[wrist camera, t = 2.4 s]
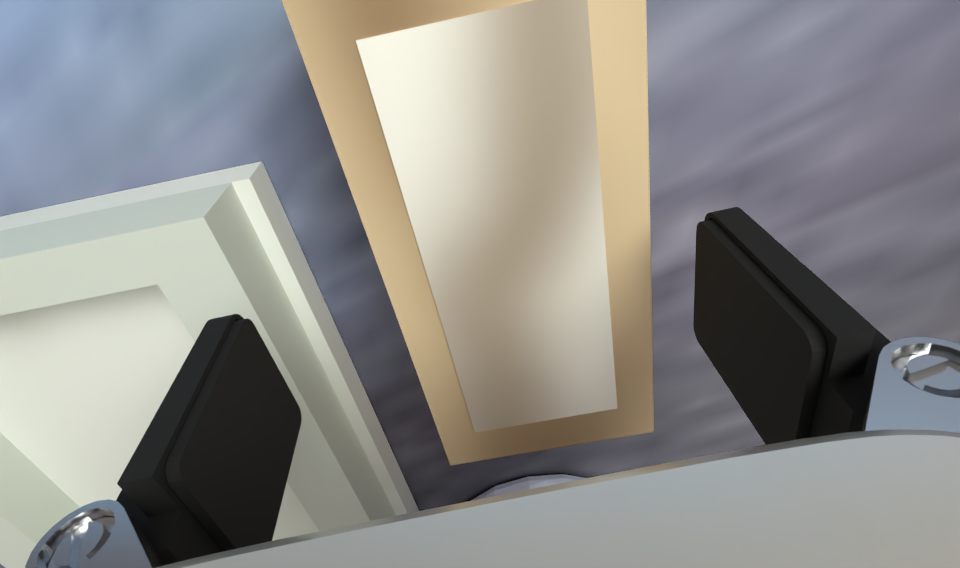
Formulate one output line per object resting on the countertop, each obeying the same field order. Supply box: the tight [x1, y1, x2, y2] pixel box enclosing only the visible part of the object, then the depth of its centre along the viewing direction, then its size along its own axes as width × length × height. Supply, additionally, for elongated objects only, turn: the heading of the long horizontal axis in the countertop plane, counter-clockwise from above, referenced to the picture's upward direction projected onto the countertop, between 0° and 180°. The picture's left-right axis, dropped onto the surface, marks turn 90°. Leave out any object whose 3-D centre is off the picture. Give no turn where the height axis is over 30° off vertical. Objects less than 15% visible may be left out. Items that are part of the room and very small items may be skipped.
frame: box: [282, 0, 654, 466], centre depth 14 cm, size 6×13×5 cm, turn 11°
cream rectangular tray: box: [0, 161, 419, 568], centre depth 19 cm, size 15×18×4 cm
